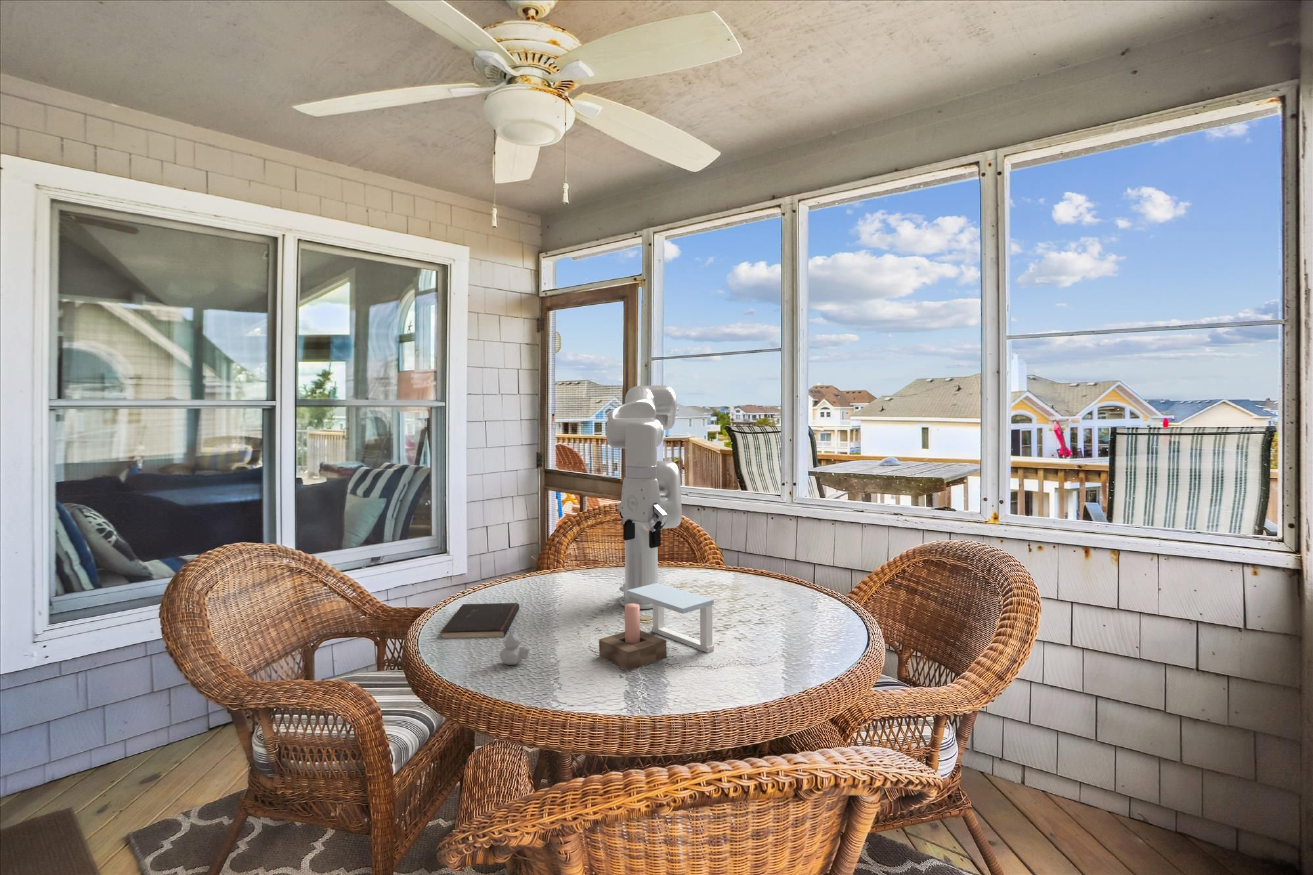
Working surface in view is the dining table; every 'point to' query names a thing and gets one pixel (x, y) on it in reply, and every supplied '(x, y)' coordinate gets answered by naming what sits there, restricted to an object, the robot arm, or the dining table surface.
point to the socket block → (632, 650)
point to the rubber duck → (513, 650)
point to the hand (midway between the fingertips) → (641, 543)
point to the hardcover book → (481, 620)
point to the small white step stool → (680, 603)
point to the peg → (632, 623)
